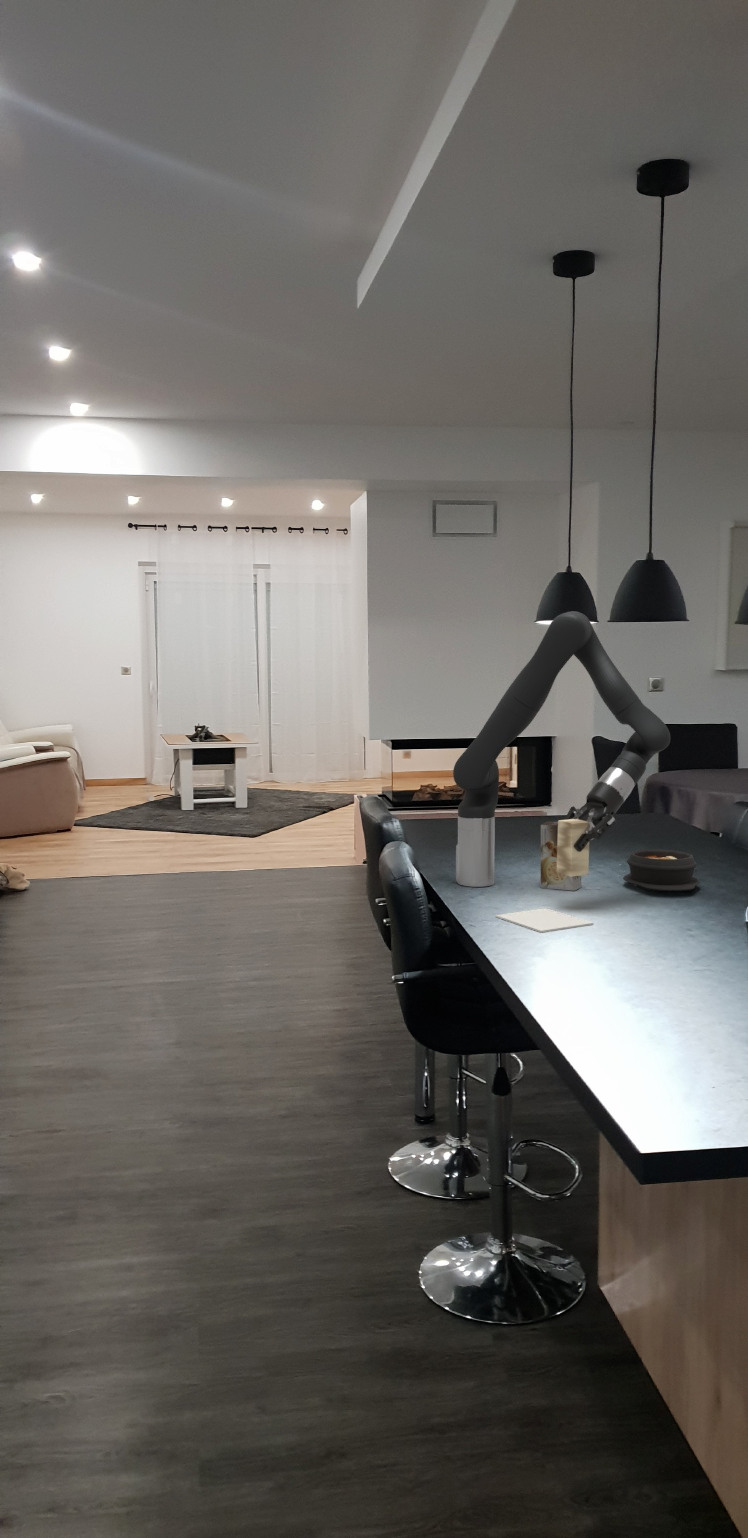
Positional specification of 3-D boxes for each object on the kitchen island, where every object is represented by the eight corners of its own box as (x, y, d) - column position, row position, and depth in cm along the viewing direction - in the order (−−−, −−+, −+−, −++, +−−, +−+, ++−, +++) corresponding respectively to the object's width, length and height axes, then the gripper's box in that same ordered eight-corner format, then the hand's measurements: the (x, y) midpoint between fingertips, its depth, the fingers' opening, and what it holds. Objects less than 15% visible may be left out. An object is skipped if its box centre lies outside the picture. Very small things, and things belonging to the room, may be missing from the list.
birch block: (556, 872, 242) (558, 820, 240) (573, 870, 244) (575, 818, 243) (570, 876, 237) (572, 823, 236) (588, 874, 240) (589, 822, 239)
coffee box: (582, 886, 266) (583, 823, 264) (574, 891, 260) (576, 826, 258) (547, 883, 270) (548, 820, 268) (539, 888, 264) (539, 824, 263)
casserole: (711, 898, 252) (712, 863, 251) (631, 897, 253) (632, 862, 253) (687, 878, 277) (688, 846, 276) (615, 877, 278) (616, 845, 278)
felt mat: (495, 917, 233) (495, 915, 233) (546, 909, 240) (546, 908, 240) (541, 932, 219) (541, 930, 219) (593, 924, 226) (593, 922, 226)
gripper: (581, 777, 249) (539, 831, 244) (624, 784, 236) (580, 841, 232) (598, 798, 252) (556, 852, 247) (641, 806, 239) (598, 863, 235)
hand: (568, 847), depth 239 cm, fingers closed on birch block, 5 cm apart
